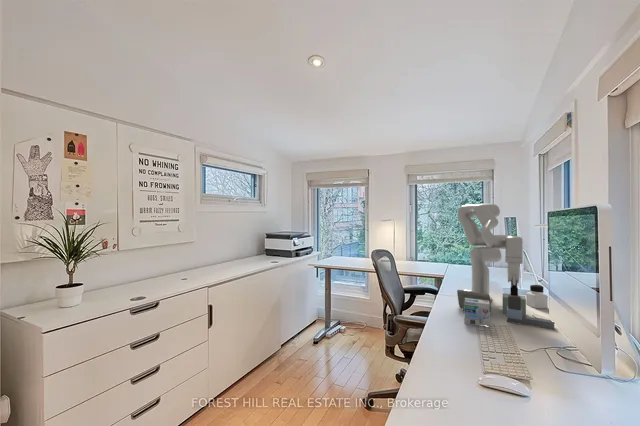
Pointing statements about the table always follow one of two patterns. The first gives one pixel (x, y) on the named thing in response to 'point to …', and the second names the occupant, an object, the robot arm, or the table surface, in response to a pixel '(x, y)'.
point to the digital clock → (471, 297)
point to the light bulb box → (476, 312)
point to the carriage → (514, 307)
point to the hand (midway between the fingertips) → (514, 295)
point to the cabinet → (505, 304)
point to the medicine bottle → (536, 297)
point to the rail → (533, 322)
